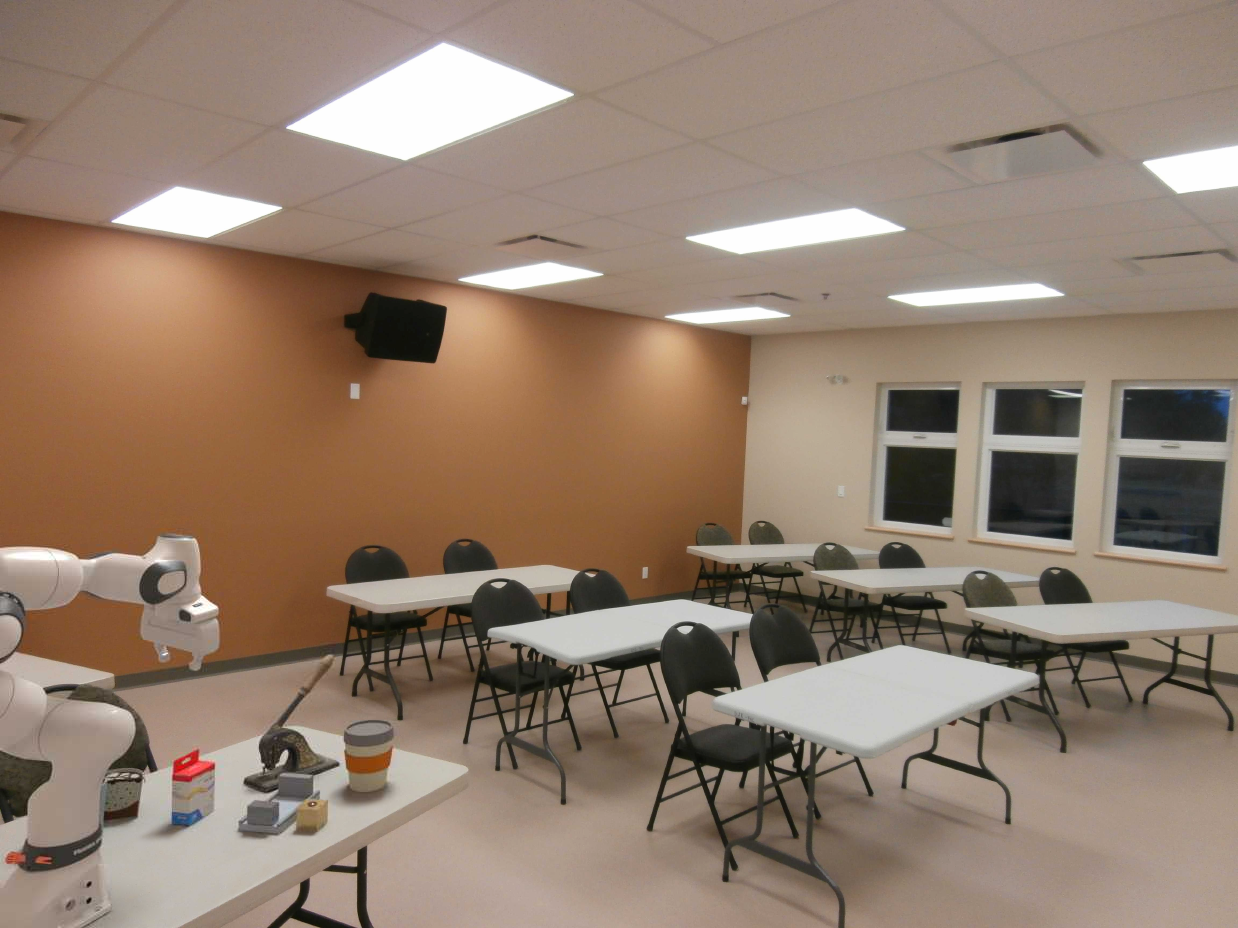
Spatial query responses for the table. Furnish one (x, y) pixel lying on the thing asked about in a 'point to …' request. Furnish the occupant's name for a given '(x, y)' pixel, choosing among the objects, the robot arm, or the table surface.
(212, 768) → the ink box
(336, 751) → the table surface
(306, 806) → the housing
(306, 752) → the embossing press
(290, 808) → the press bed
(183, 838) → the table surface
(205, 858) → the table surface
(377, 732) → the reusable coffee cup
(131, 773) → the food container
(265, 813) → the block
